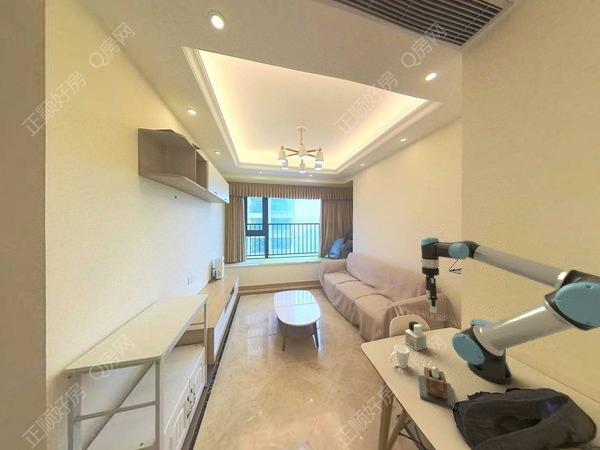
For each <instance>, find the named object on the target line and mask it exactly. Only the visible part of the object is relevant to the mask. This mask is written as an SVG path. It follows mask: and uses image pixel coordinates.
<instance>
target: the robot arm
mask: <svg viewBox="0 0 600 450" xmlns="http://www.w3.org/2000/svg"><path fill="white" fill-rule="evenodd" d="M420 250H421V259H420V260H419V261H420V263H421V274H423V275H425V287H424V288H425V295H426V297H425V298H426V300H425V301H426V303H429V313H433V314H438V312H437V311H438V310H437V309H438V308H437V307H438V306H437V301H438V296H437V295H438V294H437V283H436V281H437V279H436V278H435V277H436V276H437V277H438V276H439V275H440V268H439V267H440V258H447V259H455V260H466V259H472V260H474V261H478V262H480V263H483V264H486V265H489V266H492V267H494V268H497V269H500V270H502V271H506V272H508V273H511V274H514V275H517V276H520V277H522V278H525V279H527V280H531V281H532V282H533V281H534V282H536V283H538V284H539V283H540V284H542V285H544V286H548V287H550V288H554V289H555V290H553V291H551V292H549V293H547V294H544V295H543V297H542V298H543V301H542V302H540V303H538V304H535V305H533V306H531V307H528V308H525V309H523V310H521V311H518V312H516V313H513V314H511V315H509V316H506V317H504V318H501V319H499V320H496V321H494V322H492V321H489V320H485V319H480V318H472V319H471V320H470V327H468V328H465V329H464V330H462V331H460V332H456V333H455V334H454V335H453V336H452V337H451V344H452V347H453V350H454V351H455V352H456V354H457V355H458V356H459V357H460V358H461V359H462V360H464V361H466V363H467V366H468V368H469V370H470V371H472V372H473V373H474V374H475V375H477V376H479V377H480V378H482V379H484V380H486V381H487V382H488V381H489V382H492V383H494V384H497V385H498V384H499V385H510V384H511V383H513V374H512V372H511V369H510V367H509V365H508V362H507V354H506V353H507V351H506V350H507V349H510V348H512V347H513V348H514V347H515V346H519V345H523V344H526V343H528V342H532V341H535V340H538V339H542V338H545V337H548V336H552V335H555V334H558V333H561V332H564V331H567V330H571V329H576V330H579V331H583V332H587V331H590V330H594V329H599V328H600V275H599V276H598V275H596V274H591V273H588V272H584V271H581V270H576V269H573V268H570V269H562V268H559V267H556V266H553V265H549V264H546V263H542V262H538V261H535V260H531V259H529V258H526V257H522V256H518V255H515V254H511V253H508V252H505V251H501V250H499V249H494V248H491V247H489V246H486V245H485V246H484V245H481V244H478V243H477V242H475V241H474V240H463V241H454V242H452V241H451V242H450V241H449V242H446V241H445V242H444V241H439V238H438V237H433V236H432V237H431V236H429V237H428V236H426V237H425V236H424V237H422V238H421V241H420Z"/></svg>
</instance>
